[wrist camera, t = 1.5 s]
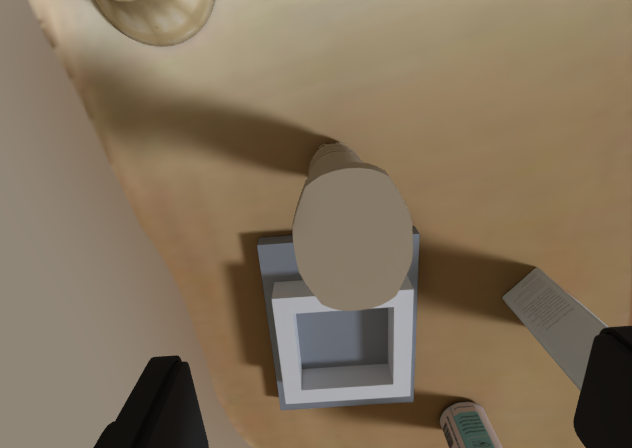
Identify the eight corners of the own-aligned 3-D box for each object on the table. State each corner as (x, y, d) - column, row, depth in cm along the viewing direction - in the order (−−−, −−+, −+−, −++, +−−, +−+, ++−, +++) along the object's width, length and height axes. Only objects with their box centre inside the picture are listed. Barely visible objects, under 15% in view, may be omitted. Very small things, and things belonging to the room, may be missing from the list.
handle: (307, 203, 31) (305, 316, 17) (296, 123, 28) (282, 176, 14) (367, 196, 30) (414, 304, 17) (360, 114, 28) (410, 160, 14)
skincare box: (578, 300, 35) (705, 409, 23) (541, 330, 36) (644, 447, 25) (536, 263, 33) (649, 362, 22) (498, 296, 34) (588, 405, 23)
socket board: (259, 237, 32) (252, 259, 28) (414, 226, 31) (428, 247, 28) (281, 397, 39) (278, 433, 35) (409, 389, 38) (420, 424, 35)
